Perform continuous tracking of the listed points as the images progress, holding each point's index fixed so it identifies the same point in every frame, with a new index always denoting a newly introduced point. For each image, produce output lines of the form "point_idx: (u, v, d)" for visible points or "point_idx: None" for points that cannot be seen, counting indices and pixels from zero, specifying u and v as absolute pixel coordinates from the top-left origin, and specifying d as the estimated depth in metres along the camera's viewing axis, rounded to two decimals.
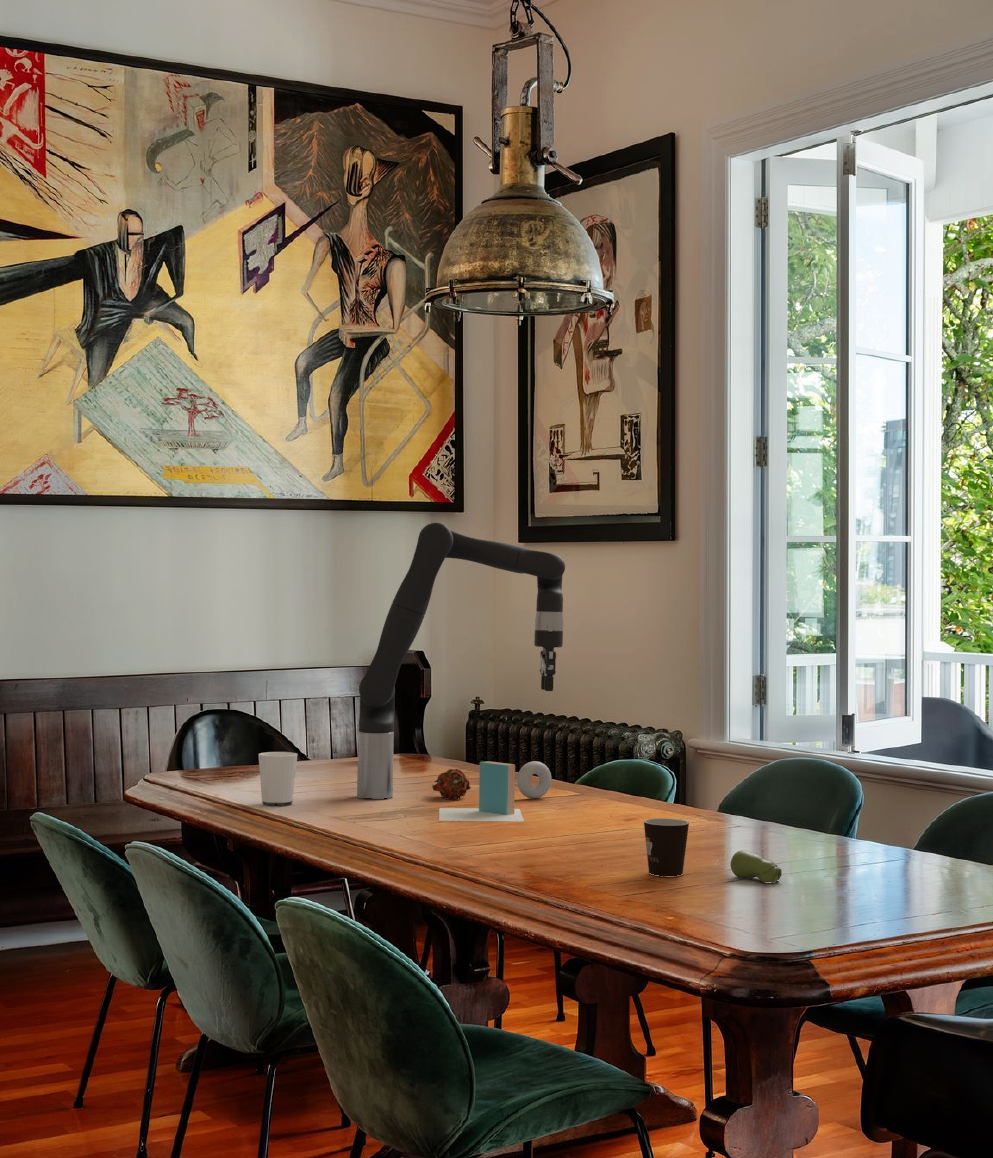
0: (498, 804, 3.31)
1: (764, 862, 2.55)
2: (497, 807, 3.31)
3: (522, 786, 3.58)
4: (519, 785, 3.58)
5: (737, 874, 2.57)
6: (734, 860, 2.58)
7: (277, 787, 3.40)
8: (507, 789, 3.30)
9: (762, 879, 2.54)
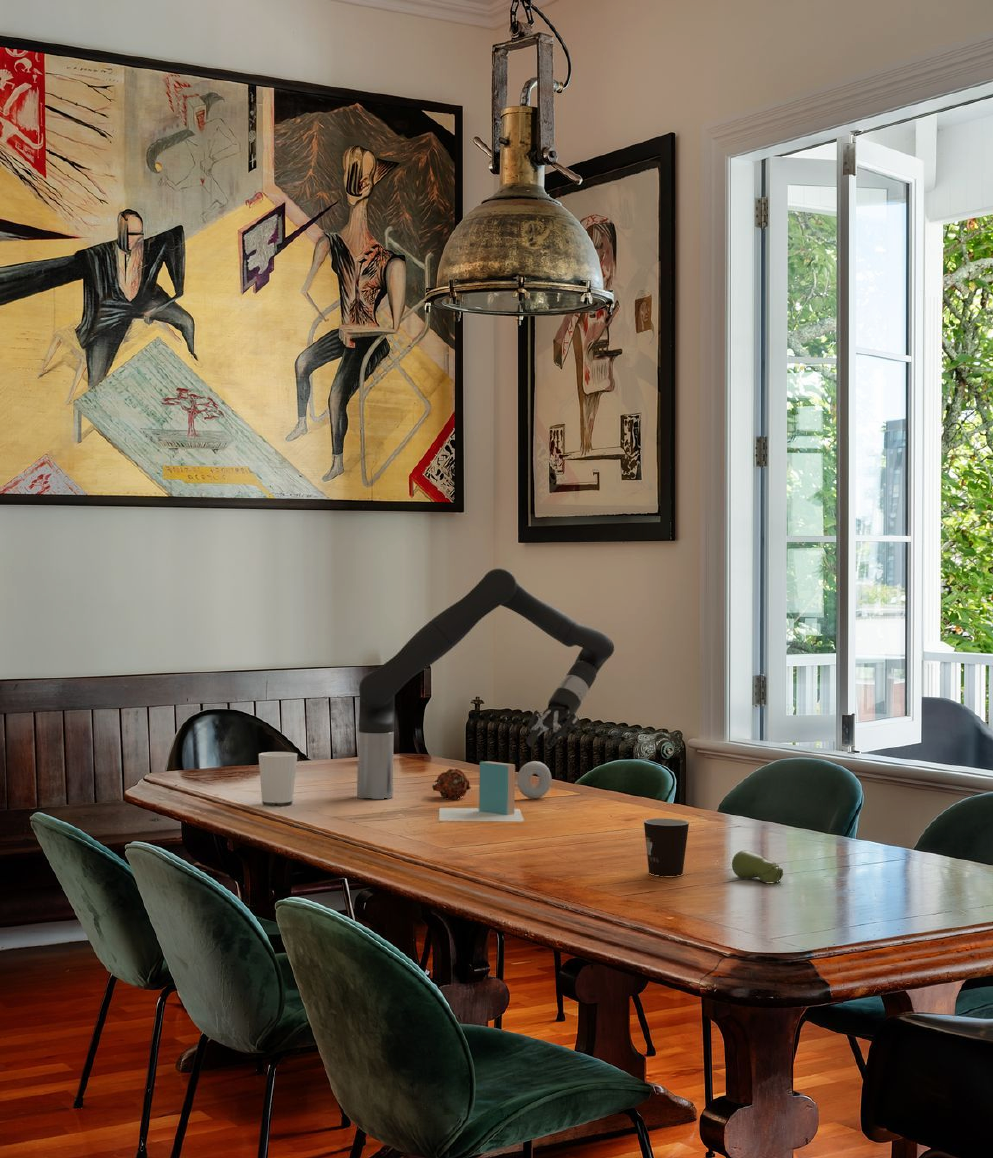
0: (498, 804, 3.31)
1: (765, 862, 2.55)
2: (497, 807, 3.31)
3: (522, 786, 3.58)
4: (519, 785, 3.58)
5: (738, 874, 2.57)
6: (735, 860, 2.57)
7: (277, 787, 3.40)
8: (507, 789, 3.30)
9: (764, 879, 2.54)
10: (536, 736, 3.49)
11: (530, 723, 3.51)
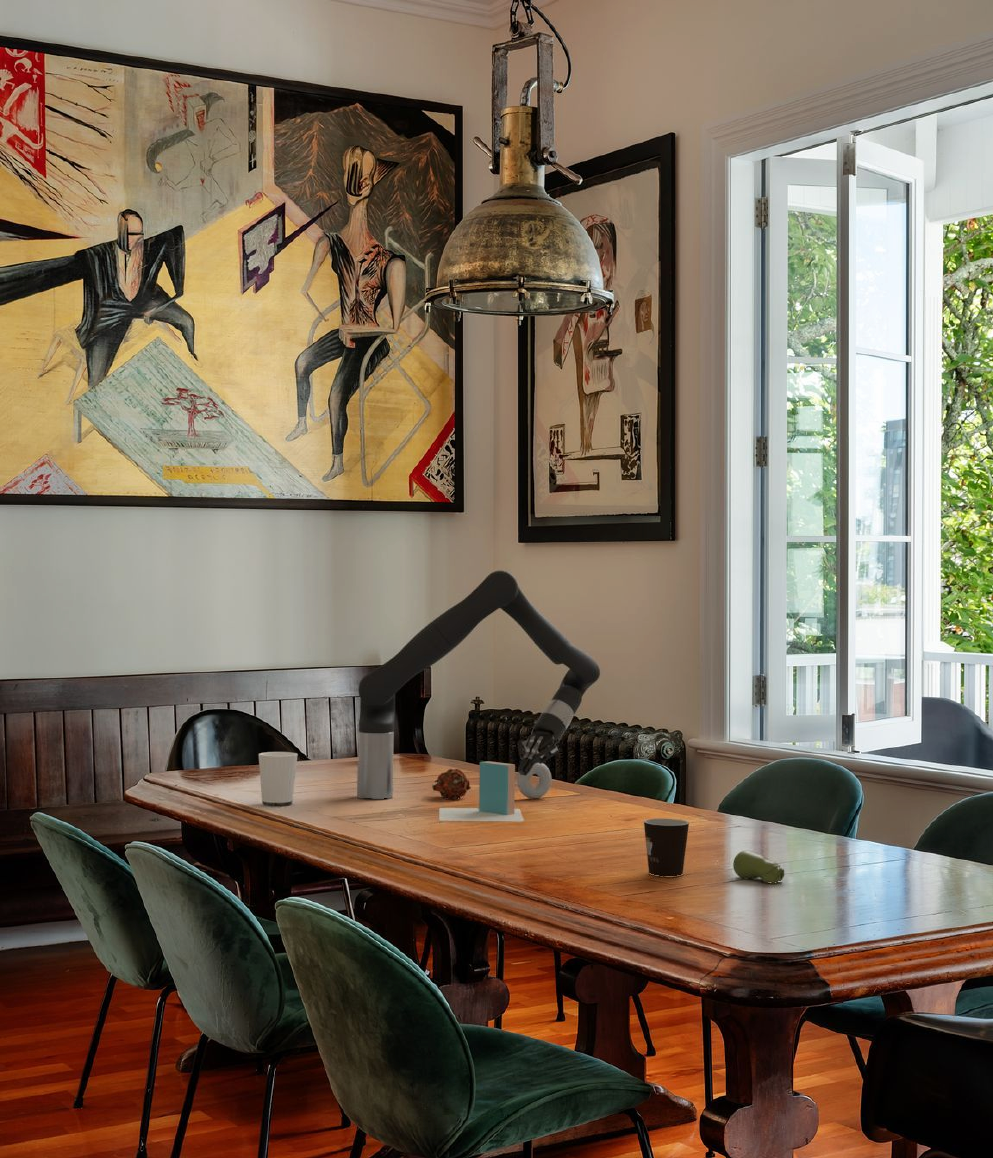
0: (498, 804, 3.31)
1: (766, 863, 2.55)
2: (497, 807, 3.31)
3: (522, 786, 3.58)
4: (519, 785, 3.58)
5: (740, 874, 2.57)
6: (737, 861, 2.57)
7: (277, 787, 3.40)
8: (507, 789, 3.30)
9: (765, 880, 2.54)
10: None
11: (521, 751, 3.45)
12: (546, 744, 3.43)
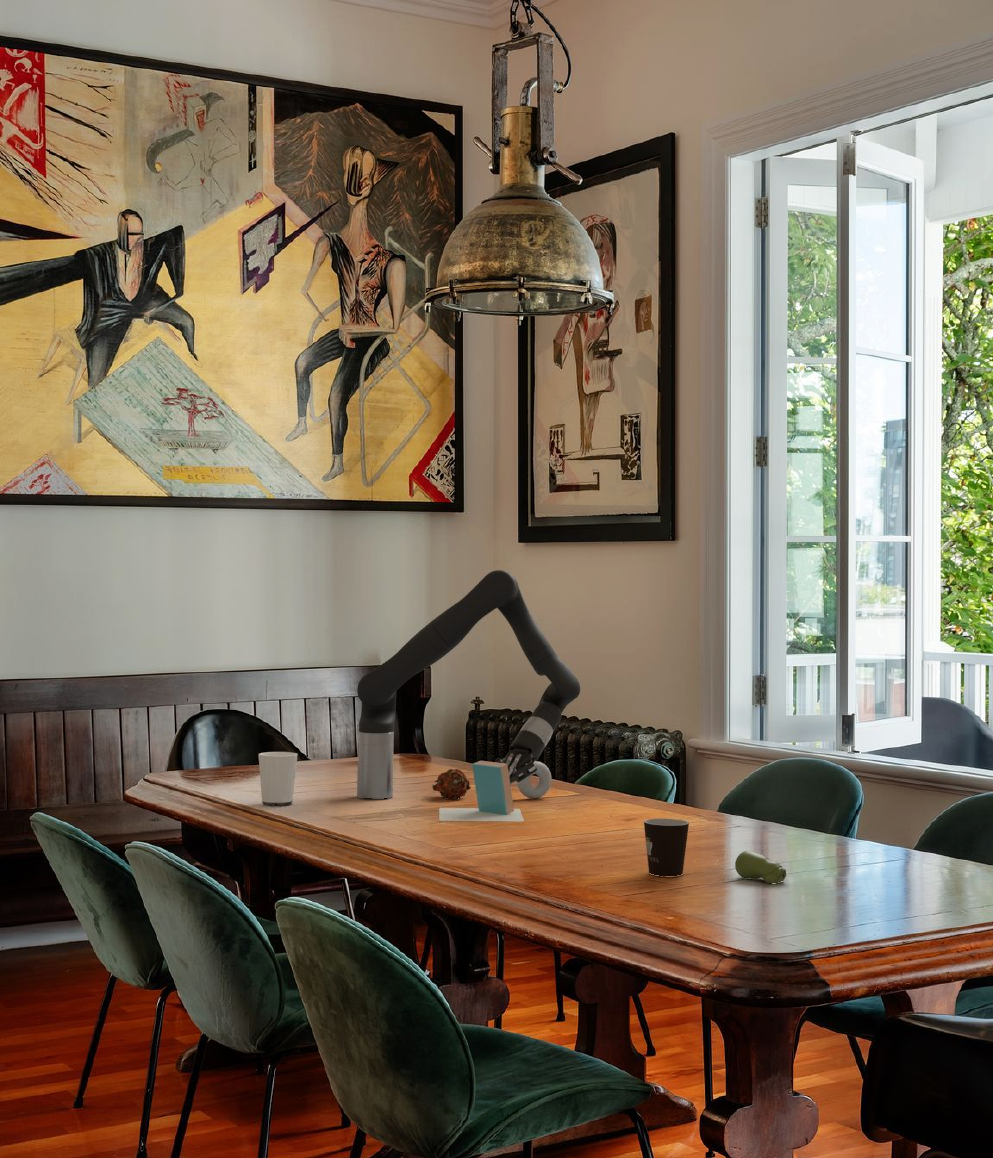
0: (497, 804, 3.31)
1: (768, 863, 2.55)
2: (496, 808, 3.31)
3: (522, 786, 3.58)
4: (519, 785, 3.58)
5: (742, 875, 2.57)
6: (739, 861, 2.57)
7: (277, 787, 3.40)
8: (503, 790, 3.29)
9: (767, 880, 2.53)
10: None
11: None
12: (524, 762, 3.37)
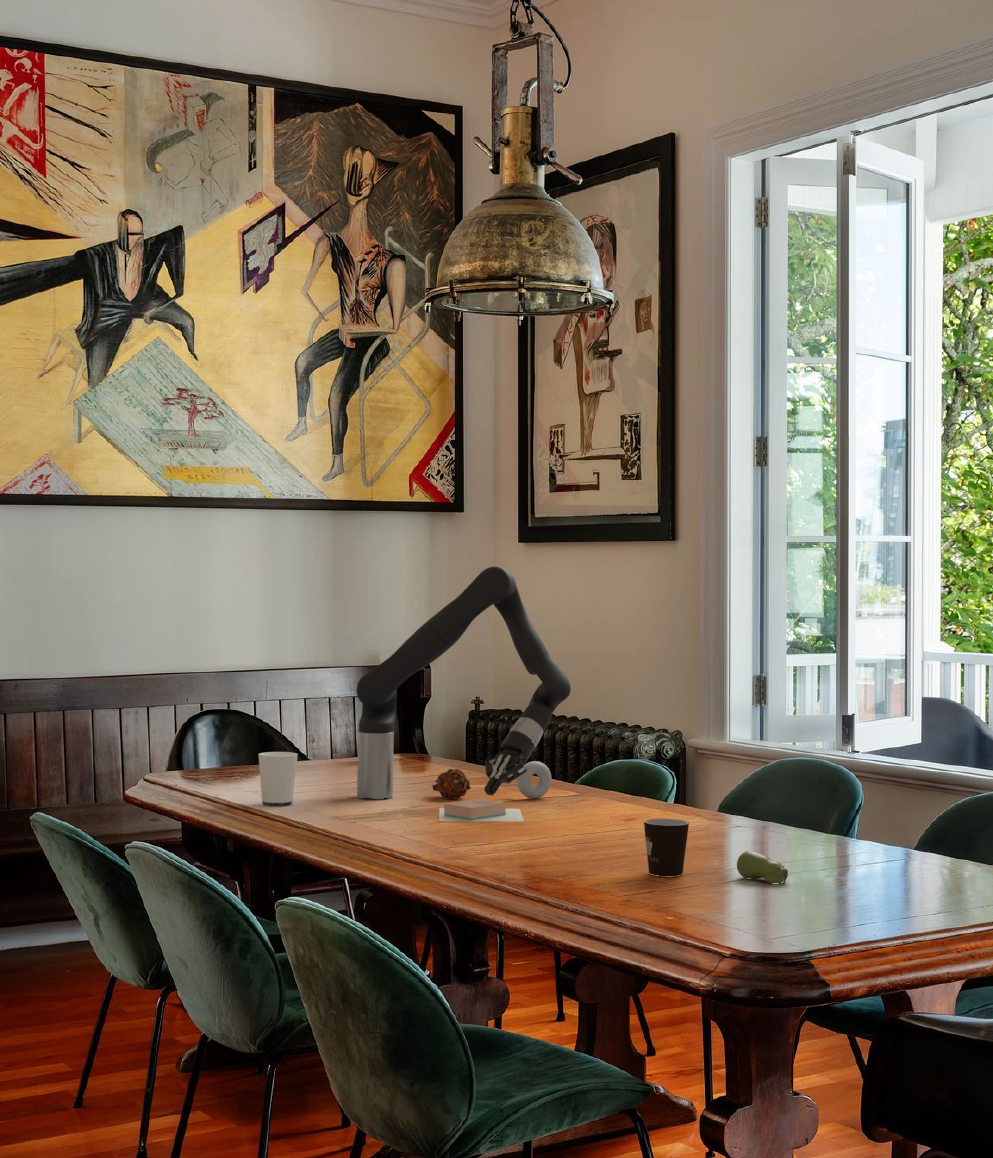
0: None
1: (770, 863, 2.54)
2: None
3: (522, 786, 3.58)
4: (519, 785, 3.58)
5: (743, 875, 2.57)
6: (740, 861, 2.57)
7: (277, 787, 3.40)
8: (487, 815, 3.25)
9: (768, 880, 2.53)
10: None
11: (488, 770, 3.36)
12: (514, 763, 3.34)
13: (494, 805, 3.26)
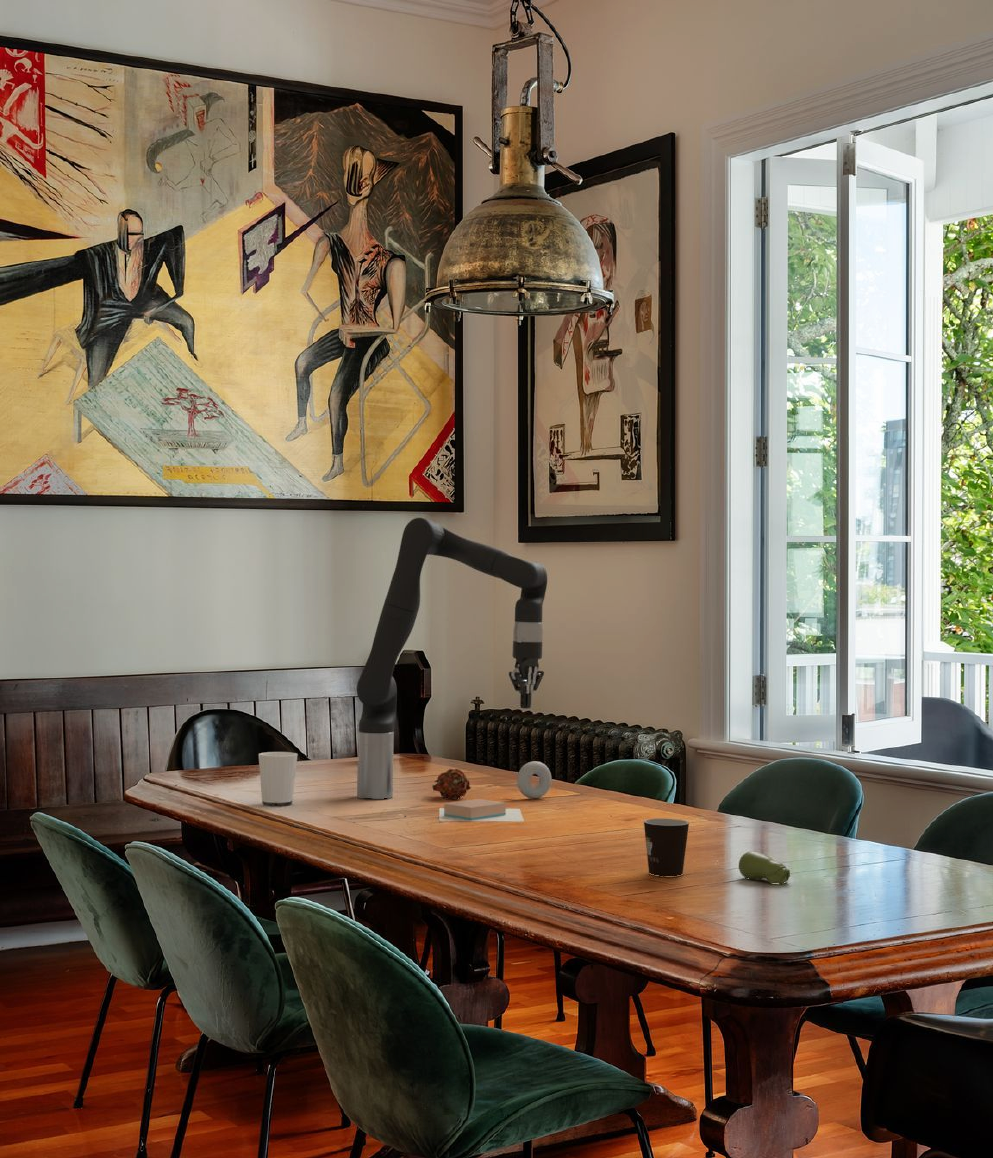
0: None
1: (772, 863, 2.54)
2: None
3: (522, 786, 3.58)
4: (519, 785, 3.58)
5: (745, 875, 2.56)
6: (742, 861, 2.57)
7: (277, 787, 3.40)
8: (487, 815, 3.25)
9: (770, 881, 2.53)
10: None
11: None
12: None
13: (494, 805, 3.26)
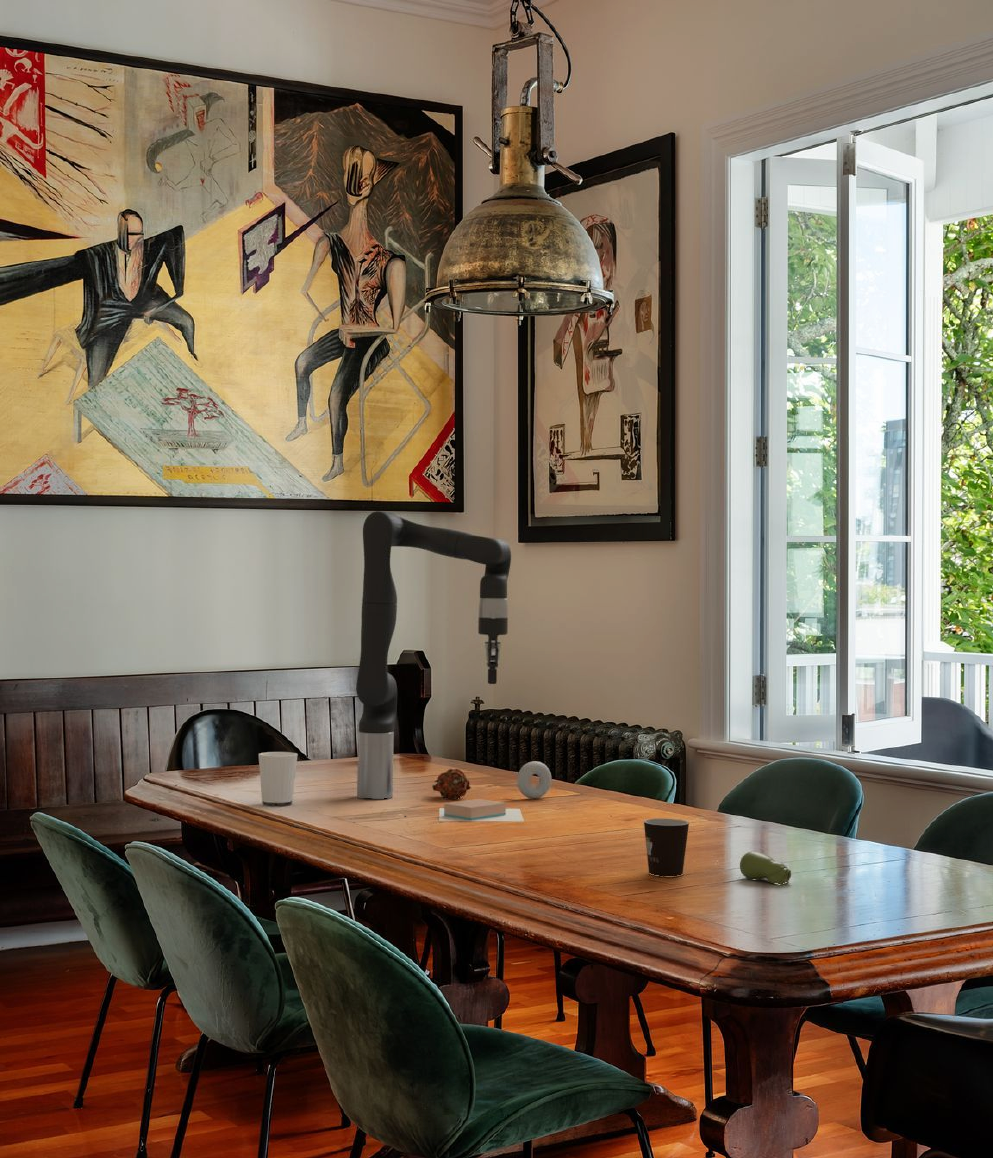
0: None
1: (773, 864, 2.54)
2: None
3: (522, 786, 3.58)
4: (519, 785, 3.58)
5: (746, 875, 2.56)
6: (743, 861, 2.57)
7: (277, 787, 3.40)
8: (487, 815, 3.25)
9: (772, 881, 2.53)
10: None
11: (487, 661, 3.52)
12: None
13: (494, 805, 3.26)
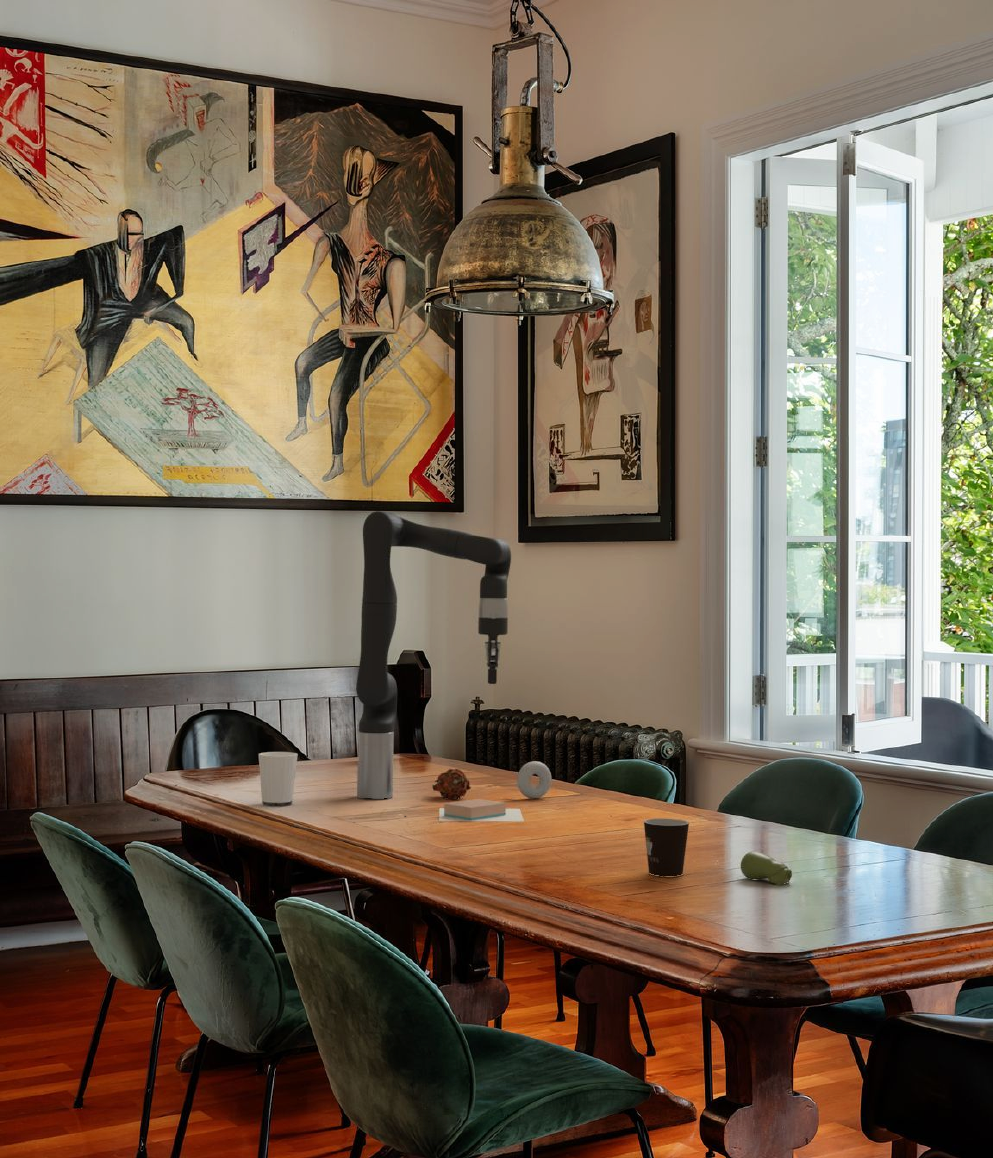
0: None
1: (774, 864, 2.54)
2: None
3: (522, 786, 3.58)
4: (519, 785, 3.58)
5: (747, 875, 2.56)
6: (744, 862, 2.56)
7: (277, 787, 3.40)
8: (487, 815, 3.25)
9: (772, 881, 2.53)
10: None
11: (487, 660, 3.52)
12: None
13: (494, 805, 3.26)
